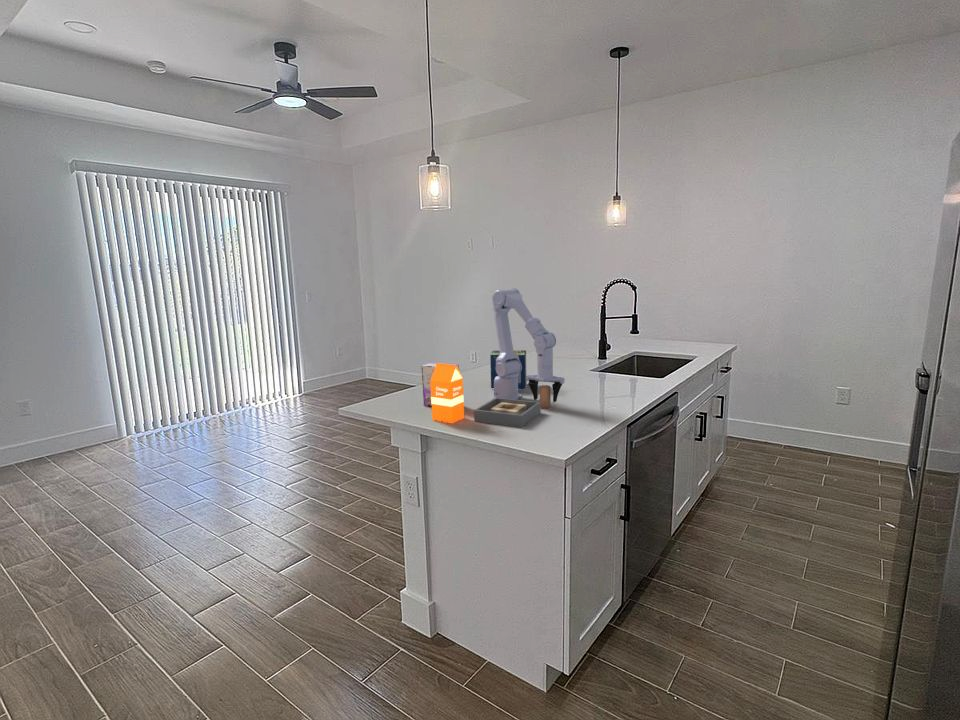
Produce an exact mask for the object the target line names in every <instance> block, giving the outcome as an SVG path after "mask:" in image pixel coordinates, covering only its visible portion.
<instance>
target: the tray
mask: <svg viewBox="0 0 960 720" xmlns="http://www.w3.org/2000/svg"><path fill="white" fill-rule="evenodd" d="M501 402H506V403H516V404H525V405H527V410H526V411H524V412H523V413H522V414H520V415H518V414H509V413H501V412H492V411H490V409H491V408H493V407H495V406H496V405H498V404H499V403H501ZM540 414H541V407H540V401H535V400H533V401H532V400H525V399H524V400H523V399H516V400H515V399H505V398H493V399H491V400H489V401H487V402H485V403H484V404H481V406H479V407H477V408H475V409H474V410H473V418H474V419H473V421H474V422H479V423H480V422H481V423H486V424H495V425H502V426H509V427H517V428H518V427H519V428H523V427H524V426H525V425H526V424H528V423H529V422H530V421H532V420H533V419H535V418H536V417H537V416H538V415H540Z"/></svg>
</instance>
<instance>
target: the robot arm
mask: <svg viewBox="0 0 960 720" xmlns="http://www.w3.org/2000/svg"><path fill="white" fill-rule="evenodd" d="M491 299H492V304H493V311H492V312H493V316H494V317H493V318H494V323H495V329H496V336H497V342H498V350H499V351H500V355H499V356H498V357H497V359H496V373H497V374H498V376H496V377H495V379H494V389H493V399H494V398H505V399H515V400H519V398H521V397H522V395H523V394H519V389H518V376H519V373H520V372H521V370H522V365H521V362H520V360H519V356H518V355H517V354H516V353H514V351H515V350H514V348H513V347H514V346H513V339H512V333H511V328H510V321H509V320H510V319H509V316H508V315H509V312H510V311H511V310H512V309H513V310H514V311H515V312H516V313H517V314H518V315H519V317H520V318H521V319H522V320H523V321H524V323H525V325H524V328H525V329H526V330H527V332H528V333H529V335H530V336H531V338H533V345H534V347H535V349H536V350H535V351H536V354H537V357H536V358H537V359H536V360H537V361H536V362H537V365H536V366H537V374H526V381H527V385H528V387H529V389H530V390H531V393H532V396H533V401H537V400H538V399H539V393H538V391H539V390H538V388H539V383H540V382H542V383H552V384H551V385H552V402H553V403H556V402H558V401H557V400H558V396H559V393H560V390H561V388H562V386H563V384H565V380H566V379H565V377H561V376H555V375H554V366H553V365H554V360H553V359H554V351H553V350H554V349H553V348H554V347H555V346H556V344H557V338H556V336H555V334H554V333H553V332H549V330H548V329H546V328H545V326H544V325H543V324H542V322H541V319H539V318H537V317H533V315H532V314H531V312H530V310H529V309H528V307H527V305H526V304H525V302H524V301H523V294H522V293H521V292H520V291H519V289H518V288H513V287H512V288H508V289H507V288H506V289H505V288H504V289H497V290H495V292H494V293H493V294H492V296H491ZM508 359H509V360H508ZM506 360H508V361H506Z"/></svg>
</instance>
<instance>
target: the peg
mask: <svg viewBox="0 0 960 720" xmlns="http://www.w3.org/2000/svg"><path fill="white" fill-rule="evenodd" d="M551 395H552V394H551V385H548V384H547V385H546V384H543V385H540V386H539V402H540V409H549V408H551V406H552V404H551V403H552V402H551V400H552V398H551Z"/></svg>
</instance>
